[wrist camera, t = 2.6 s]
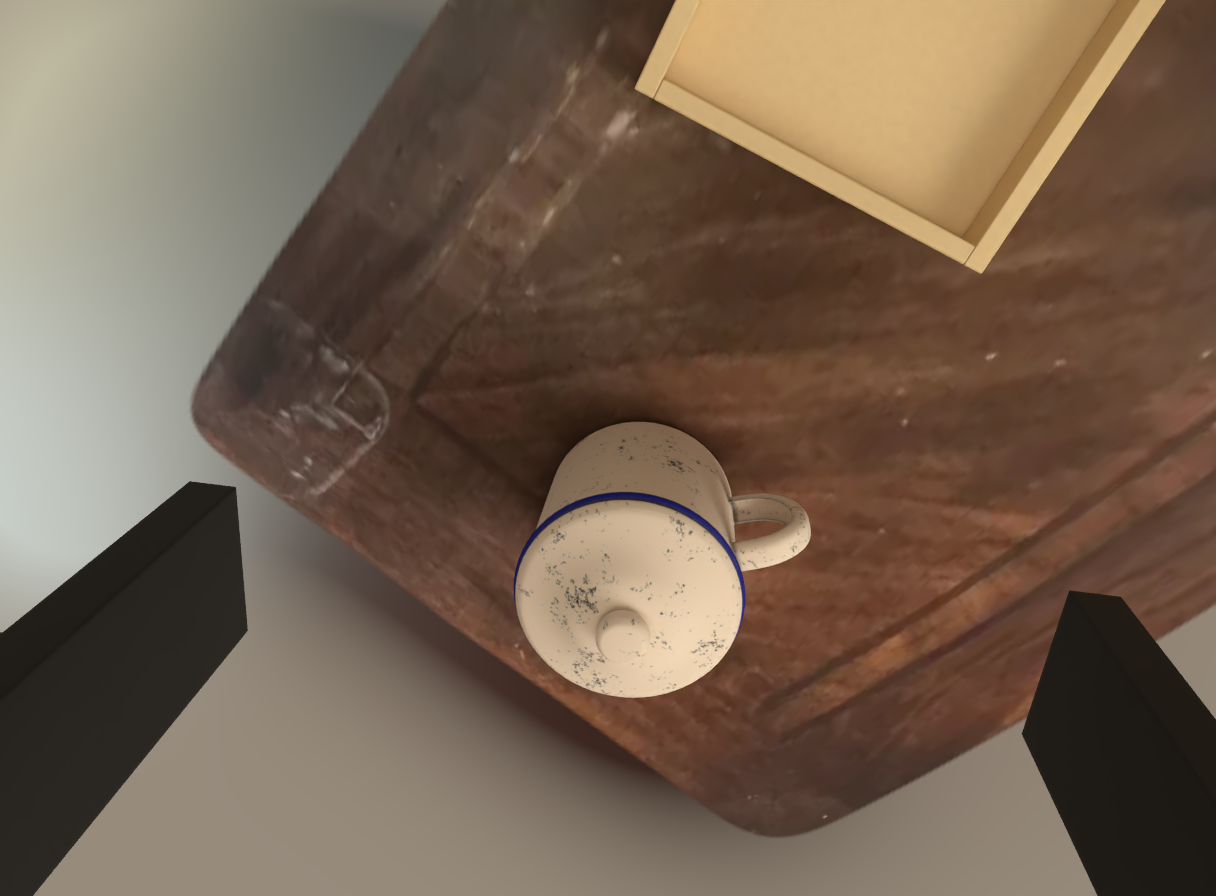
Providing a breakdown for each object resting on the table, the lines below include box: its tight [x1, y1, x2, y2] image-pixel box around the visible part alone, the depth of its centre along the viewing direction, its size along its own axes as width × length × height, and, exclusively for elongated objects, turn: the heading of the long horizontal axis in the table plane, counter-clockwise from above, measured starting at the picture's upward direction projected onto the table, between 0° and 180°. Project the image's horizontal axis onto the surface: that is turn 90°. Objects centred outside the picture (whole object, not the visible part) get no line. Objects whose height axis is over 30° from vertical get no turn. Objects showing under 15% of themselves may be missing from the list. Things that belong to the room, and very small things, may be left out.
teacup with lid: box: [514, 422, 811, 698], centre depth 38 cm, size 12×9×12 cm
